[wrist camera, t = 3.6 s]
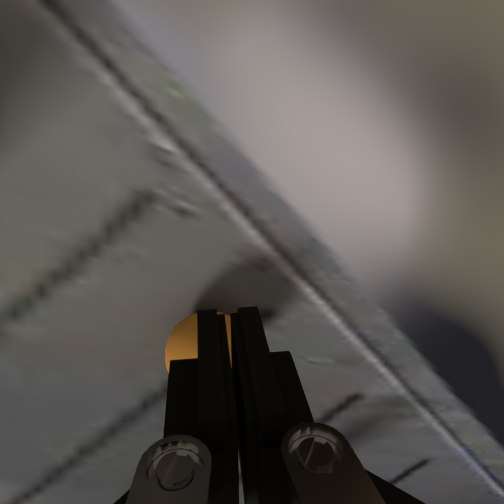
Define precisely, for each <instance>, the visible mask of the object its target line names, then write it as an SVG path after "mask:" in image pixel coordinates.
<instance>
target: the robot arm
mask: <svg viewBox="0 0 504 504" xmlns="http://www.w3.org/2000/svg"><path fill="white" fill-rule="evenodd" d="M197 342H198V358H192V359H179V360H170V365H169V377H168V389H167V401H166V413H165V425H164V437H163V439H160V440H158V441H157V442H155V443H154V444H152V445H151V446H150V447H149V448H148V449H147V450H146V451H145V452H144V453H143V455H142V457H141V459H140V461H139V463H138V466H137V469H136V472H135V475H134V478H133V482H132V485H131V488H130V490H129V491H127V492H126V493H125V494H124V495H123V496H122V497H121V498H120V499H118V500H117V501H116V502H115V503H114V504H239V472H238V450H239V459H240V468H241V476H242V485H243V493H244V502H245V504H425V503H423V502H422V501H420V500H418V499H416V498H415V497H413V496H411V495H409V494H408V493H406V492H404V491H402V490H401V489H399V488H397V487H395V486H394V485H392V484H390V483H388V482H387V481H385V480H383V479H381V478H380V477H378V476H376V475H374V474H373V473H371V472H369V471H367V470H366V469H365V468H364V467H363V465H362V464H361V462H360V460H359V459H358V457H357V455H356V454H355V452H354V450H353V449H352V447H351V445H350V444H349V442H348V441H347V439H346V438H345V437H344V436H343V435H342V433H340V432H339V431H338V430H336V429H335V428H333V427H331V426H329V425H326V424H324V423H318V422H314V420H313V417H312V414H311V411H310V408H309V405H308V402H307V399H306V397H305V394H304V391H303V388H302V385H301V382H300V379H299V376H298V373H297V370H296V367H295V364H294V361H293V359H292V356H291V353H290V352H289V351H282V352H270V351H269V347H268V344H267V340H266V336H265V332H264V329H263V325H262V321H261V318H260V314H259V310H258V307H257V306H256V307H241V308H238V313H231V360H230V352H229V344H228V337H227V329H226V321H225V314H217V309H210V310H197ZM231 366H232V368H231Z"/></svg>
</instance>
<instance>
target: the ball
mask: <svg viewBox="0 0 504 504" xmlns="http://www.w3.org/2000/svg"><path fill="white" fill-rule="evenodd" d="M217 314H224V313H221V312H217ZM225 321H226V329H227V337H228V344H229V352H230V360H231V317H230V316H228V315H226V314H225ZM192 358H198V342H197V313H195V314H192V315H190V316H188V317H187V318H185V319H184V320H182V321H181V322H180V323H179V324H178V325H177V326H176V327H175V328H174V330H173V331H172V333H171V335H170V337H169V339H168V342H167V345H166V351H165V362H166V367H167V370H168V373H169V365H170V360H179V359H192ZM231 368H232V366H231Z"/></svg>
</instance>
